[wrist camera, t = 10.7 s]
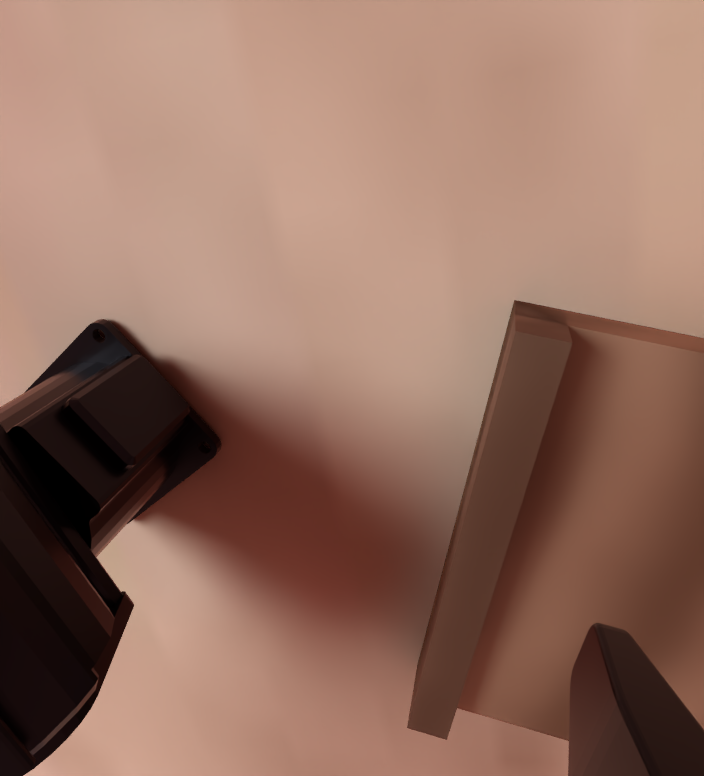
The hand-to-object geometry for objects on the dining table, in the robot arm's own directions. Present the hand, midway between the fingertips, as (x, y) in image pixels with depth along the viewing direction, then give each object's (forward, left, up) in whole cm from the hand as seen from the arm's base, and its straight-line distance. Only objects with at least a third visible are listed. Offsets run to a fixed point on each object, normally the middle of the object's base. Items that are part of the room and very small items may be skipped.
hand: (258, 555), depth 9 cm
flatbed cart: (0, -12, -13) cm, 18 cm away
